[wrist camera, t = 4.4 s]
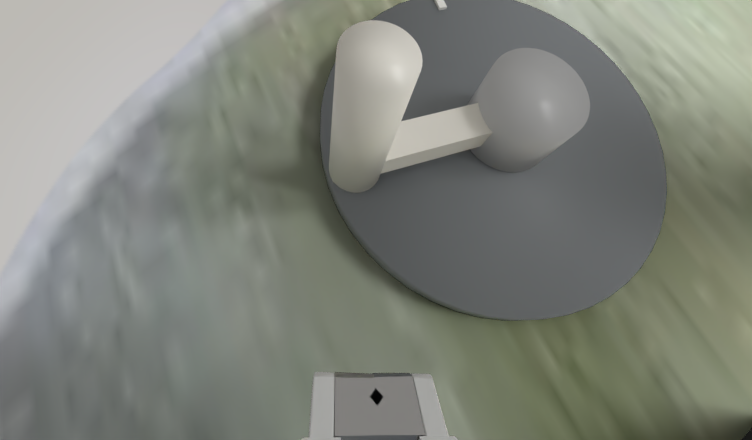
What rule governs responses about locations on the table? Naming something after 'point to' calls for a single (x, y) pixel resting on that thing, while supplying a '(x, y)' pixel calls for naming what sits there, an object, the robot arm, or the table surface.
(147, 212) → the table surface
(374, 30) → the dial lever
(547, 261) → the dial plate
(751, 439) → the ammunition clip
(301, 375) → the table surface
